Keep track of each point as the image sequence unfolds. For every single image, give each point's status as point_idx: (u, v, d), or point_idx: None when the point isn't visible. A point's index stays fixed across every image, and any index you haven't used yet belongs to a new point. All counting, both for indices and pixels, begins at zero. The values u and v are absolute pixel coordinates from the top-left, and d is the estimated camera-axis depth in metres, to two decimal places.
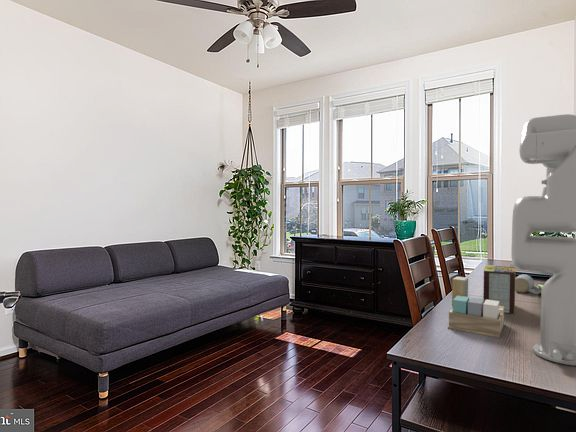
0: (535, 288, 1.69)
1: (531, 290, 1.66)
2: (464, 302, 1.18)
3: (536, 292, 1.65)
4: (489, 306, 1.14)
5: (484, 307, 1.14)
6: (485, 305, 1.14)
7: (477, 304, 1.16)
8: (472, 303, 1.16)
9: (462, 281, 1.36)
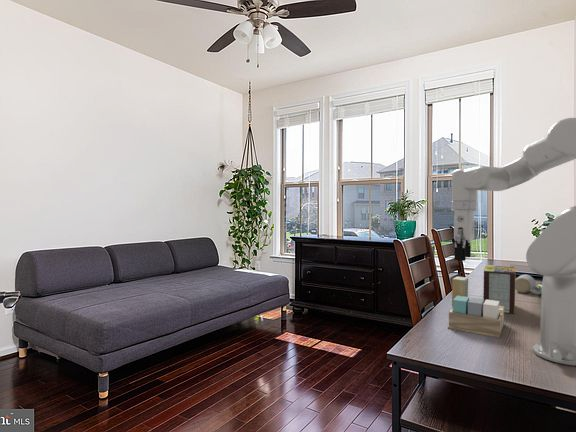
0: (536, 288, 1.69)
1: (532, 290, 1.65)
2: (464, 302, 1.18)
3: (537, 292, 1.65)
4: (489, 306, 1.14)
5: (484, 307, 1.14)
6: (485, 305, 1.14)
7: (477, 304, 1.16)
8: (472, 303, 1.16)
9: (462, 281, 1.36)
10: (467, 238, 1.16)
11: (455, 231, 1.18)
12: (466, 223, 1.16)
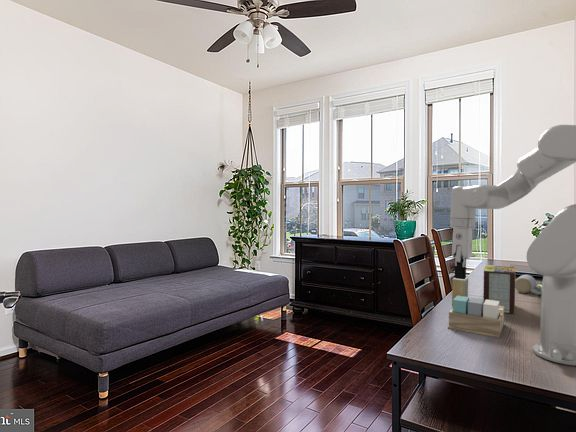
0: (537, 288, 1.68)
1: (533, 290, 1.65)
2: (464, 302, 1.18)
3: (538, 292, 1.64)
4: (489, 306, 1.14)
5: (484, 307, 1.14)
6: (485, 305, 1.14)
7: (477, 304, 1.16)
8: (472, 303, 1.16)
9: (462, 281, 1.36)
10: (465, 256, 1.16)
11: (453, 248, 1.18)
12: (464, 241, 1.16)
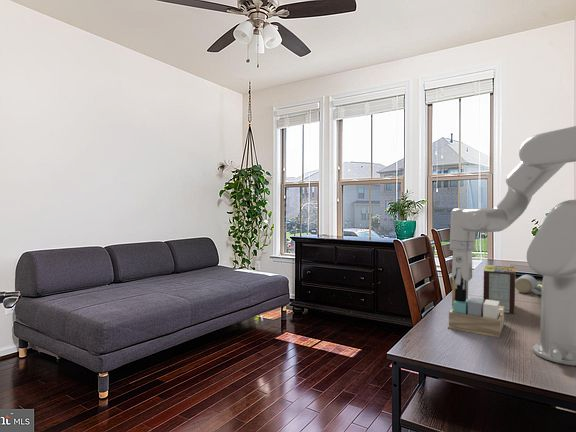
0: (538, 288, 1.68)
1: (534, 290, 1.65)
2: (464, 304, 1.18)
3: (539, 292, 1.64)
4: (489, 306, 1.14)
5: (484, 307, 1.14)
6: (485, 305, 1.14)
7: (477, 304, 1.16)
8: (472, 303, 1.16)
9: None
10: (465, 279, 1.16)
11: (453, 271, 1.18)
12: (464, 264, 1.16)
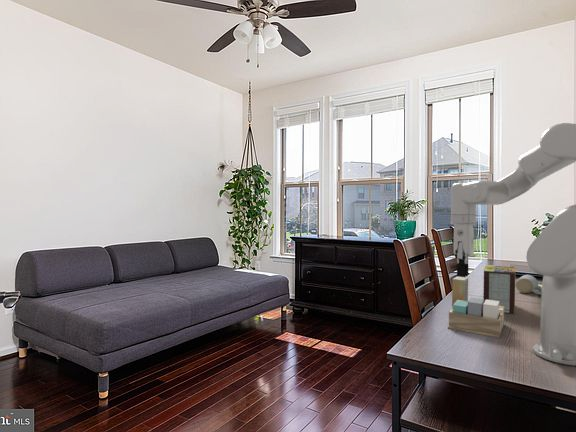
0: (539, 289, 1.68)
1: (535, 291, 1.65)
2: (464, 307, 1.18)
3: (540, 293, 1.64)
4: (489, 306, 1.14)
5: (484, 307, 1.14)
6: (485, 305, 1.14)
7: (477, 304, 1.16)
8: (472, 303, 1.16)
9: (462, 281, 1.36)
10: (467, 252, 1.16)
11: (455, 245, 1.18)
12: (466, 237, 1.16)
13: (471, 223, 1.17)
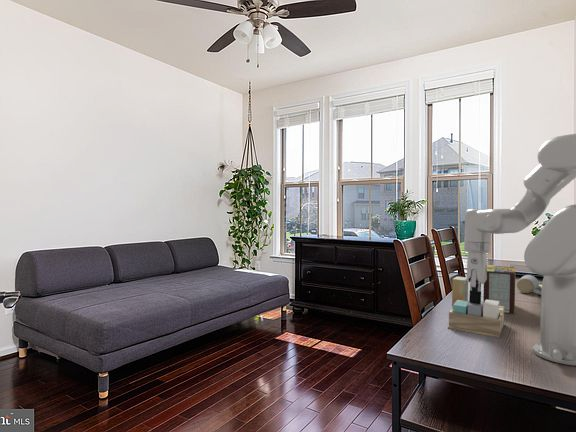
0: (540, 289, 1.68)
1: (536, 291, 1.64)
2: (464, 307, 1.18)
3: None
4: (489, 306, 1.14)
5: (484, 307, 1.14)
6: (485, 305, 1.14)
7: (477, 307, 1.16)
8: (472, 306, 1.16)
9: (462, 281, 1.36)
10: (481, 281, 1.14)
11: (468, 273, 1.16)
12: (480, 265, 1.14)
13: (485, 251, 1.15)
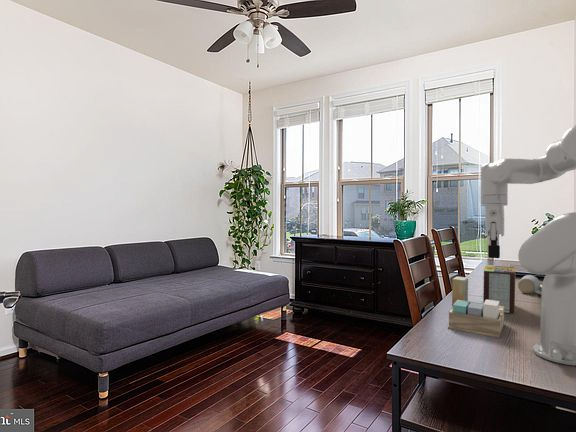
0: (541, 289, 1.67)
1: (537, 291, 1.64)
2: (464, 307, 1.18)
3: None
4: (489, 306, 1.14)
5: (484, 307, 1.14)
6: (485, 305, 1.14)
7: (477, 309, 1.16)
8: (472, 308, 1.16)
9: (462, 281, 1.36)
10: (501, 232, 1.13)
11: (487, 226, 1.15)
12: (499, 217, 1.13)
13: (503, 203, 1.15)
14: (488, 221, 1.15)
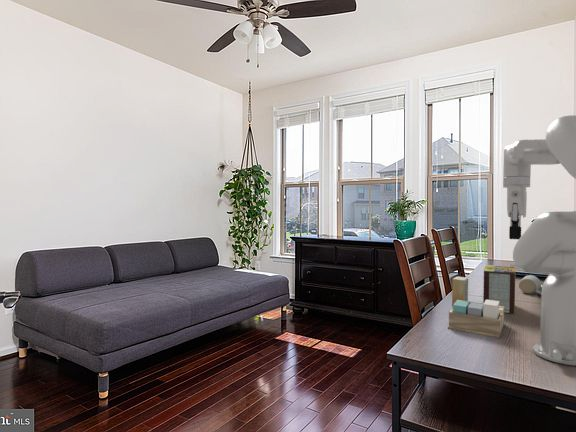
0: None
1: (538, 291, 1.64)
2: (464, 307, 1.18)
3: None
4: (489, 306, 1.14)
5: (484, 307, 1.14)
6: (485, 305, 1.14)
7: (477, 309, 1.16)
8: (472, 308, 1.16)
9: (462, 281, 1.36)
10: (522, 213, 1.14)
11: (509, 207, 1.16)
12: (521, 198, 1.14)
13: (526, 185, 1.15)
14: (510, 202, 1.16)
